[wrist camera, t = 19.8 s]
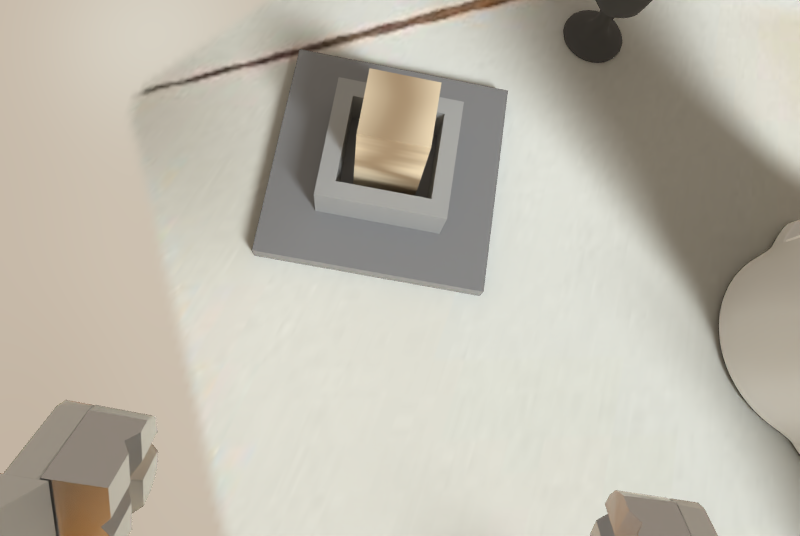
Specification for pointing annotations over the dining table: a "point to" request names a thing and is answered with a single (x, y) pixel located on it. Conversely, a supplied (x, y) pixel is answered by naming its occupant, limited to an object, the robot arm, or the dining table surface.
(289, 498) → the dining table surface
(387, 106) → the wooden block
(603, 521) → the robot arm
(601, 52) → the sundae
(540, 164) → the dining table surface
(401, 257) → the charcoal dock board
